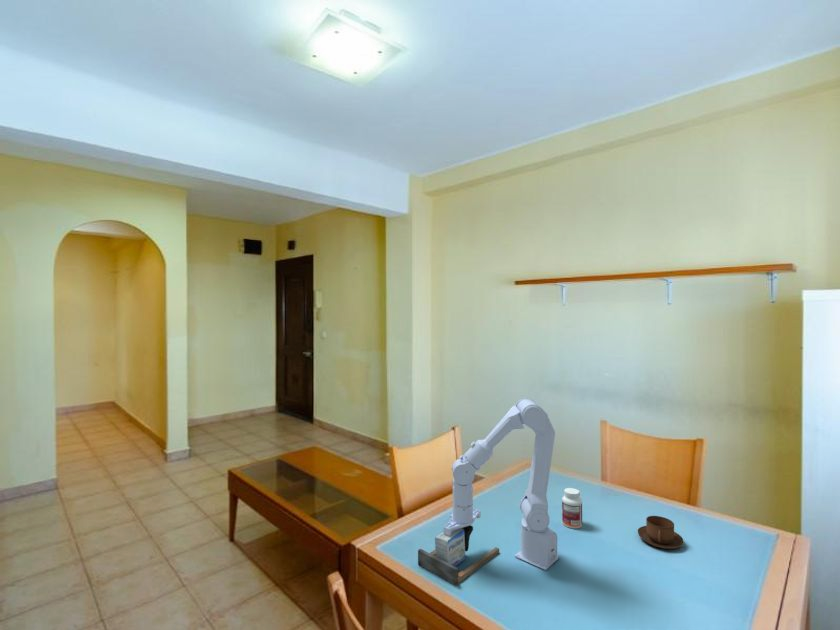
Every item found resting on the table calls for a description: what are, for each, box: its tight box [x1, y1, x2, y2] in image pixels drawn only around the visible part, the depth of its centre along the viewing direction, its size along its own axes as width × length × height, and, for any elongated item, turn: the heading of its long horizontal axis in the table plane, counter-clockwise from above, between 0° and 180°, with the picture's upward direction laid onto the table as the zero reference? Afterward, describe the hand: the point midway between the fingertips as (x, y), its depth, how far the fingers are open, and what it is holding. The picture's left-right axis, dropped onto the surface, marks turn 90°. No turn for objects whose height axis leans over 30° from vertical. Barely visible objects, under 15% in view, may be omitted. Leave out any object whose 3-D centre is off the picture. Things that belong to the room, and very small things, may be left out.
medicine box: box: [434, 528, 466, 567], centre depth 119 cm, size 8×4×9 cm, turn 138°
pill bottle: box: [561, 487, 583, 530], centre depth 140 cm, size 6×6×11 cm
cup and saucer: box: [637, 515, 684, 550], centre depth 130 cm, size 12×12×6 cm
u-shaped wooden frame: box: [417, 546, 500, 586], centre depth 121 cm, size 13×20×4 cm, turn 137°
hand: (462, 550), depth 122 cm, fingers closed
